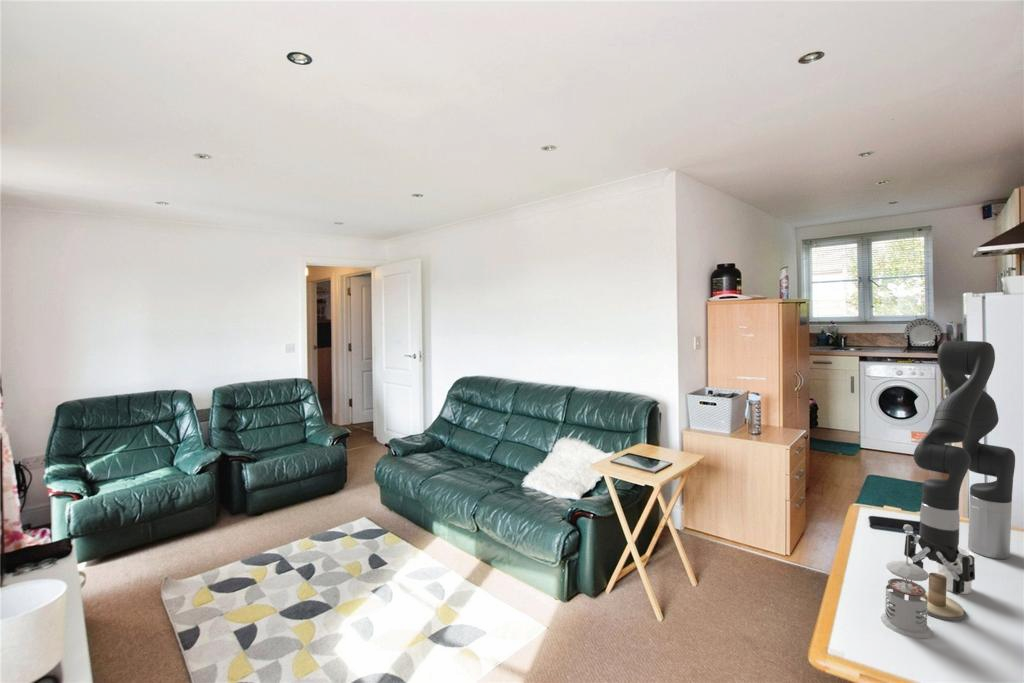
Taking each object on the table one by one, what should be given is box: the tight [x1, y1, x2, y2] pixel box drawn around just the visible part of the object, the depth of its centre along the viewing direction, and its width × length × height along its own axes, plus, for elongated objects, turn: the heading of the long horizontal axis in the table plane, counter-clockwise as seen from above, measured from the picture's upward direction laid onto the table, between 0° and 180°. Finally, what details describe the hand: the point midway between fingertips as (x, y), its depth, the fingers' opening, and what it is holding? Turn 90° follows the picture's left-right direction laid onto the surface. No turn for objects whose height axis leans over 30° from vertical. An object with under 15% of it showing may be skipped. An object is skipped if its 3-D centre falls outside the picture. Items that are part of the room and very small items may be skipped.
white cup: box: [935, 546, 976, 595], centre depth 134 cm, size 8×8×10 cm
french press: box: [879, 523, 933, 639], centre depth 119 cm, size 10×12×25 cm
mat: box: [923, 608, 967, 622], centre depth 126 cm, size 11×11×1 cm
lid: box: [921, 572, 965, 618], centre depth 125 cm, size 10×10×8 cm
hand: (937, 584), depth 125 cm, fingers open, 8 cm apart
